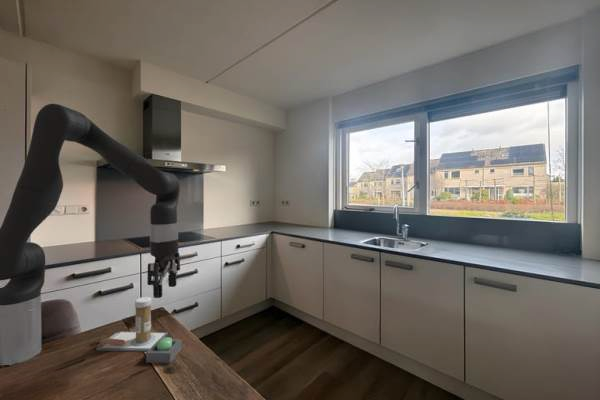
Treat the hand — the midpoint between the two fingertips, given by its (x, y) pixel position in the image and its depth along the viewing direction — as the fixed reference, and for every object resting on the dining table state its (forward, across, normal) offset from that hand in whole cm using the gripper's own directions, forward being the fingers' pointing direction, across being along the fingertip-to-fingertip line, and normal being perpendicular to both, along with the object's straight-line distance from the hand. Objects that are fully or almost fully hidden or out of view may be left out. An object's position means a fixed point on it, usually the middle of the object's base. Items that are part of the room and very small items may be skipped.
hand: (165, 291), depth 78 cm
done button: (+18, +1, 0) cm, 18 cm away
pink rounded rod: (+18, -3, -19) cm, 27 cm away
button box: (+19, +1, 0) cm, 19 cm away
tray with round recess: (+19, -6, -14) cm, 24 cm away
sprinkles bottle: (+18, -6, -11) cm, 22 cm away
